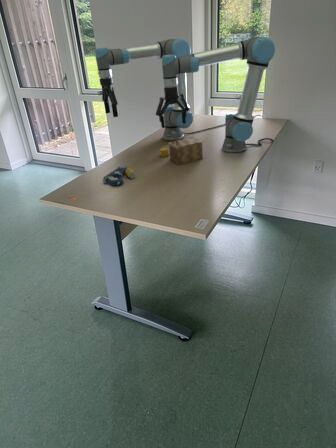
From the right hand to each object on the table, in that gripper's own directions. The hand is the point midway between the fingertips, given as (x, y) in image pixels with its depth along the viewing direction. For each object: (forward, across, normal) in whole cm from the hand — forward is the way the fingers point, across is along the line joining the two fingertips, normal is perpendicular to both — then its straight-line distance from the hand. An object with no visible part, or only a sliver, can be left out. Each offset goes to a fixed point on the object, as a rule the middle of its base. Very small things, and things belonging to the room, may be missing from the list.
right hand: (173, 125), depth 194 cm
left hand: (-5, -27, +30) cm, 41 cm away
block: (+23, -1, +15) cm, 27 cm away
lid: (+13, +7, +1) cm, 15 cm away
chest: (+23, +8, +1) cm, 24 cm away
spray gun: (+23, -37, -4) cm, 44 cm away
